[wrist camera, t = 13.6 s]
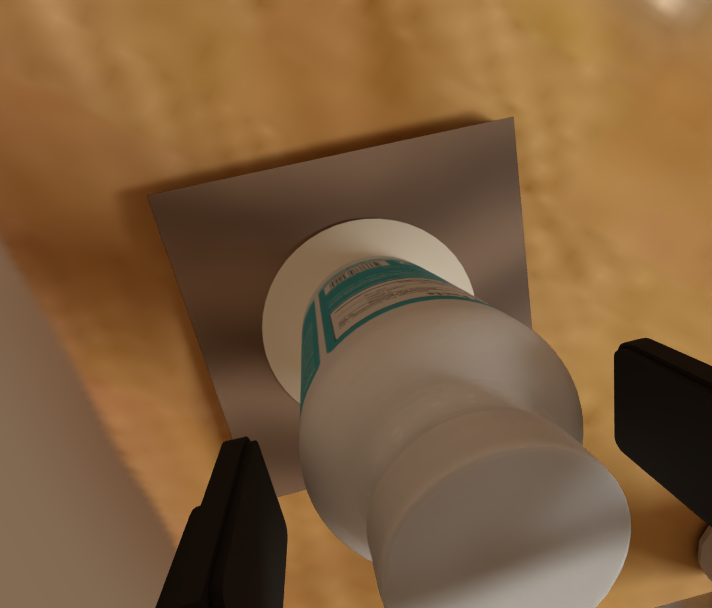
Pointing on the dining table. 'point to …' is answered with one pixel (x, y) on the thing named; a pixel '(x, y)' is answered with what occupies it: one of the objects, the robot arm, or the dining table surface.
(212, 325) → the serving board
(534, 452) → the pill bottle
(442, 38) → the dining table surface
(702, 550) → the water bottle
